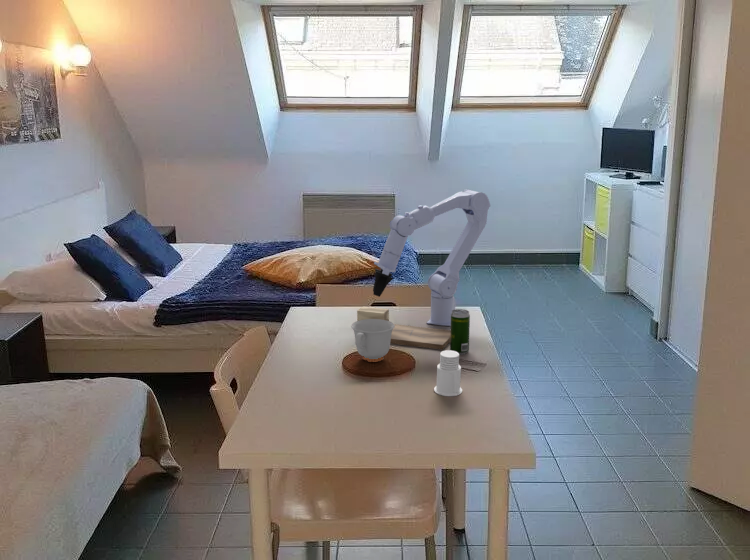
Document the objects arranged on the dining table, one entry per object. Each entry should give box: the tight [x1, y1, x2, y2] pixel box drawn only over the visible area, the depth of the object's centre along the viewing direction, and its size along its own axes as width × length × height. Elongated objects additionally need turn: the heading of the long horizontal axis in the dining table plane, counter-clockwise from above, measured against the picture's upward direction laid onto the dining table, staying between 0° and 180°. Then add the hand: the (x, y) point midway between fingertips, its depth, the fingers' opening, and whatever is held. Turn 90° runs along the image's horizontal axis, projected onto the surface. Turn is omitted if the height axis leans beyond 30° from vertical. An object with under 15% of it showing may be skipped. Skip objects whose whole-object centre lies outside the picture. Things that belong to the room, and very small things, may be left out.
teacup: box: [350, 319, 395, 359], centre depth 200 cm, size 12×15×10 cm
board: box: [390, 323, 451, 351], centre depth 220 cm, size 14×20×2 cm
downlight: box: [433, 349, 463, 397], centre depth 179 cm, size 8×7×10 cm
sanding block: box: [356, 306, 390, 321], centre depth 234 cm, size 5×9×5 cm, turn 69°
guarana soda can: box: [449, 308, 471, 356], centre depth 207 cm, size 5×5×12 cm
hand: (376, 294), depth 226 cm, fingers open, 7 cm apart
